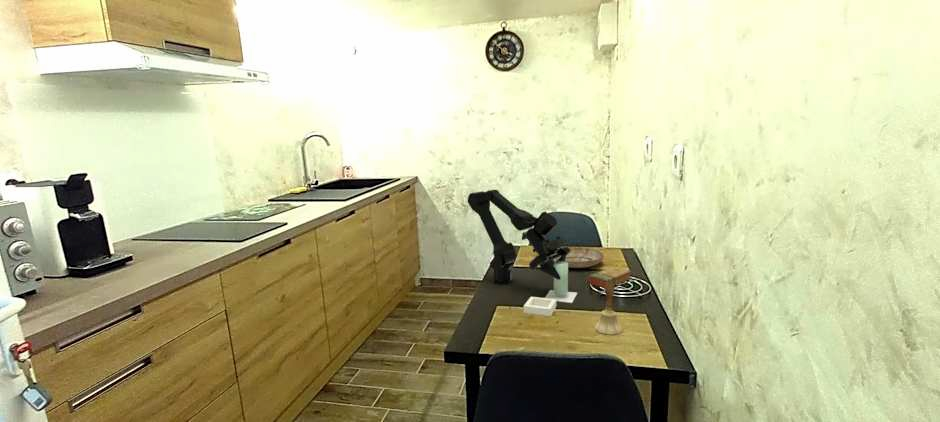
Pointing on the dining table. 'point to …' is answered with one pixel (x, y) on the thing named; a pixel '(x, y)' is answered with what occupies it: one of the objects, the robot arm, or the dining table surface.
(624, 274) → the carton
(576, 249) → the ceramic bowl
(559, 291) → the light green piece
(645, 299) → the dining table surface
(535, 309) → the shallow square tray
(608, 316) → the hand bell
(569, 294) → the cream panel
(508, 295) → the dining table surface
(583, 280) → the dining table surface
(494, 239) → the robot arm
